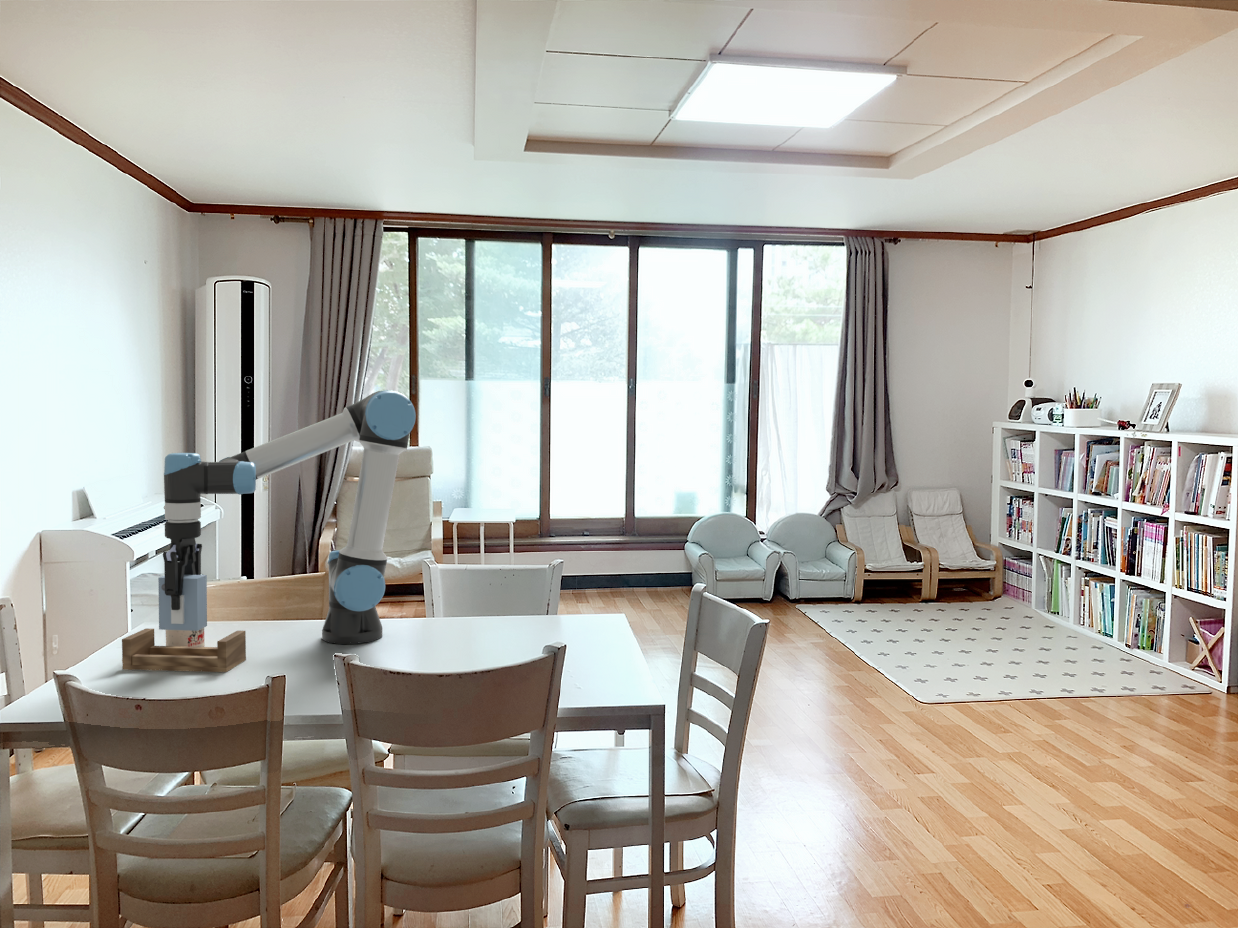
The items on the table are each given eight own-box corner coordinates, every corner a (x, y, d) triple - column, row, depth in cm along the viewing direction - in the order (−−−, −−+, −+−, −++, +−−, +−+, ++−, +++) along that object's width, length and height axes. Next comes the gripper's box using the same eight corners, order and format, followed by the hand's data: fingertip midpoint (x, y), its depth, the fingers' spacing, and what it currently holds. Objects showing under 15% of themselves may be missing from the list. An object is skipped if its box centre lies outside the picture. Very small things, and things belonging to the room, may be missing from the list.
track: (245, 659, 221) (245, 630, 220) (226, 672, 211) (226, 641, 210) (146, 657, 222) (145, 628, 221) (122, 669, 212) (121, 639, 211)
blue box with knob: (207, 626, 218) (206, 575, 217) (195, 631, 212) (195, 579, 212) (169, 624, 218) (168, 574, 217) (156, 630, 213) (156, 578, 212)
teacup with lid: (193, 654, 225) (192, 606, 224) (157, 653, 226) (156, 605, 225) (218, 641, 237) (217, 596, 236) (183, 640, 238) (182, 595, 237)
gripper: (186, 515, 223) (186, 611, 224) (145, 524, 205) (147, 629, 207) (216, 516, 223) (217, 612, 224) (179, 525, 205) (180, 630, 207)
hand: (183, 620), depth 216 cm, fingers closed on blue box with knob, 4 cm apart
